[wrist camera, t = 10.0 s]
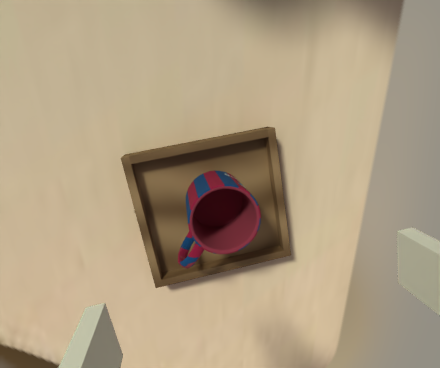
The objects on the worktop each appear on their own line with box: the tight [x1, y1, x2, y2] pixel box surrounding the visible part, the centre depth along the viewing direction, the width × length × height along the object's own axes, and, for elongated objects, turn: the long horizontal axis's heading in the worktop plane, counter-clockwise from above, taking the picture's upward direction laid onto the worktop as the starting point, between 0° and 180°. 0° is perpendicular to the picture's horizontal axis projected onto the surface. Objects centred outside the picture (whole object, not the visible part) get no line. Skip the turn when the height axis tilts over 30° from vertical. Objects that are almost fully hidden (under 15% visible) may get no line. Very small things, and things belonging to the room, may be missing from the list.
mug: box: [178, 171, 261, 269], centre depth 29 cm, size 7×10×7 cm
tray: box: [121, 127, 291, 288], centre depth 33 cm, size 15×16×2 cm
